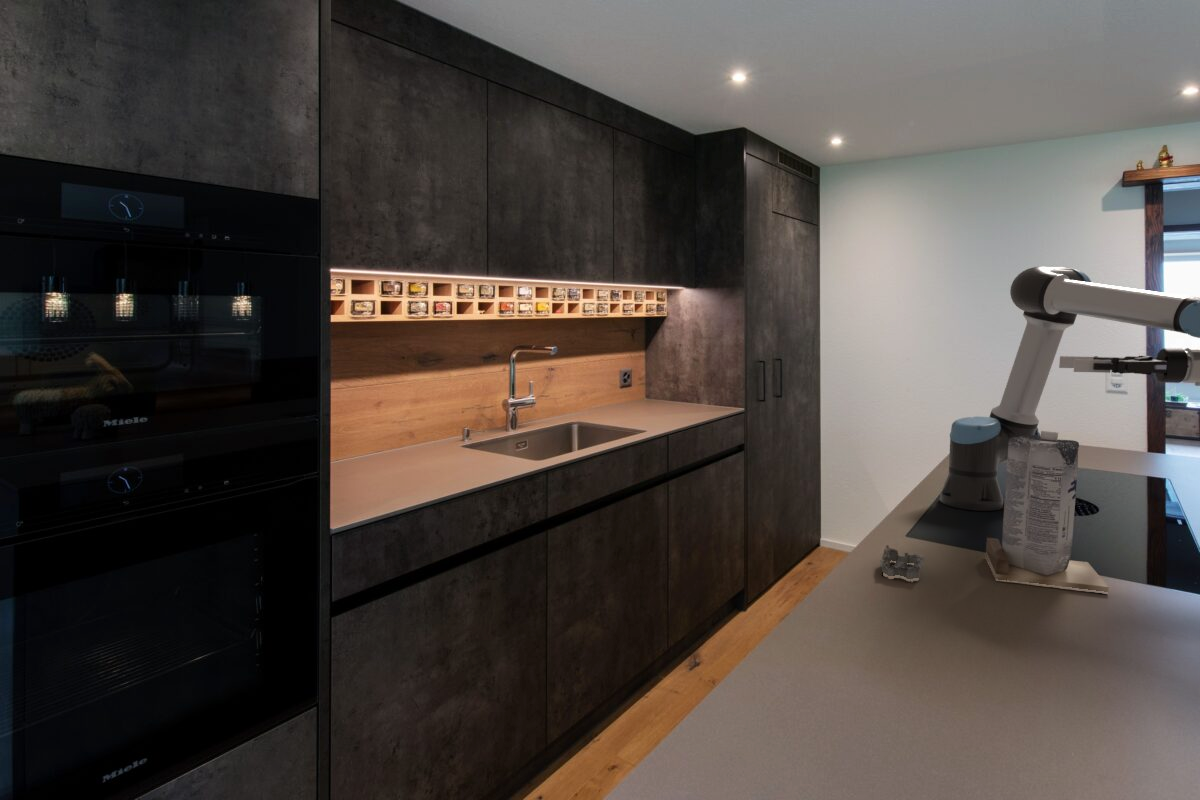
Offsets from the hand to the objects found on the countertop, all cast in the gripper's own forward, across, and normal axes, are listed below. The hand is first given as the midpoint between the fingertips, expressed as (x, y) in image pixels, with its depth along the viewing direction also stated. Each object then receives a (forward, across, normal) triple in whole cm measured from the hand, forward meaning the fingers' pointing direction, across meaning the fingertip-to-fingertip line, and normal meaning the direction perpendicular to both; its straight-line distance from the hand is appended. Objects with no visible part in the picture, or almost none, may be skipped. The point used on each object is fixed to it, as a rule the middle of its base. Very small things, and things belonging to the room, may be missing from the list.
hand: (1066, 363), depth 157 cm
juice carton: (+10, -32, -39) cm, 51 cm away
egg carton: (+34, -40, -40) cm, 66 cm away
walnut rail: (+16, -31, -39) cm, 52 cm away
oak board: (+8, -32, -40) cm, 52 cm away
